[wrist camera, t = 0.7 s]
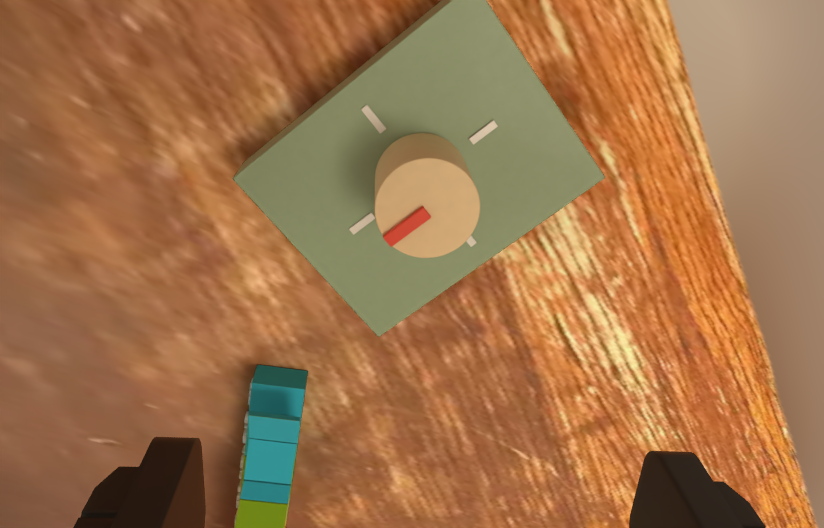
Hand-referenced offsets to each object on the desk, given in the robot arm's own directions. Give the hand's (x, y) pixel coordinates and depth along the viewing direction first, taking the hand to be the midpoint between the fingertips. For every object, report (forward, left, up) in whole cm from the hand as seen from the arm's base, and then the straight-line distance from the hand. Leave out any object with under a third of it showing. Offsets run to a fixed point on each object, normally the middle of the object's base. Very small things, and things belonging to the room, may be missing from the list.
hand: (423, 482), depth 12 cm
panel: (-1, +1, -25) cm, 25 cm away
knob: (-1, +1, -22) cm, 22 cm away
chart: (+24, +16, -25) cm, 39 cm away
